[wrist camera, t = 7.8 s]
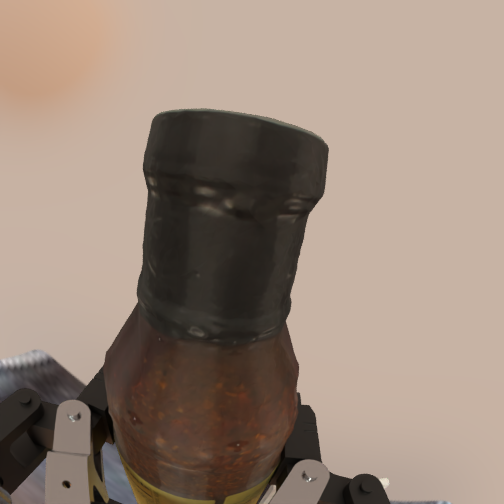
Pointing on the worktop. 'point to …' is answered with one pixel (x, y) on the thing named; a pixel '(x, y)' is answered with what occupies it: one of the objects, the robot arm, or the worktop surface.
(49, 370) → the worktop surface
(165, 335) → the sauce bottle
